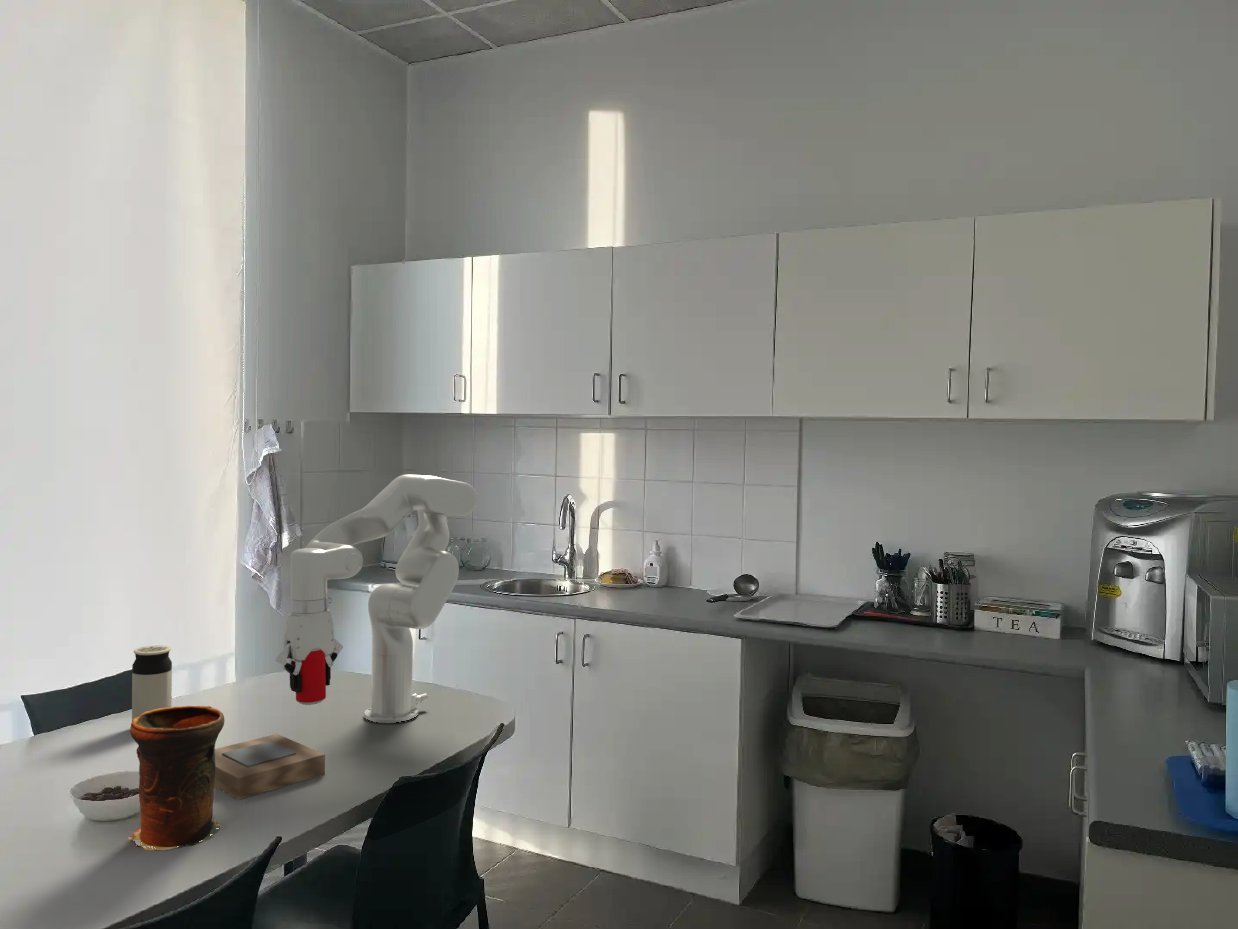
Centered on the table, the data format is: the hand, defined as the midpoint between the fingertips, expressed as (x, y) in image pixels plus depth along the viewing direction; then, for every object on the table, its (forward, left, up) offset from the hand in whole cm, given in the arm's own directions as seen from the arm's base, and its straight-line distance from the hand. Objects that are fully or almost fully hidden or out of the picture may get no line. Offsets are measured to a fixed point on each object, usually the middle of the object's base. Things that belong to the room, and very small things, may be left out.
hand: (310, 687), depth 205 cm
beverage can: (0, 0, -3) cm, 3 cm away
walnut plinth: (+17, +9, -12) cm, 23 cm away
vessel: (+40, +24, -13) cm, 48 cm away
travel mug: (+19, -34, -13) cm, 41 cm away
